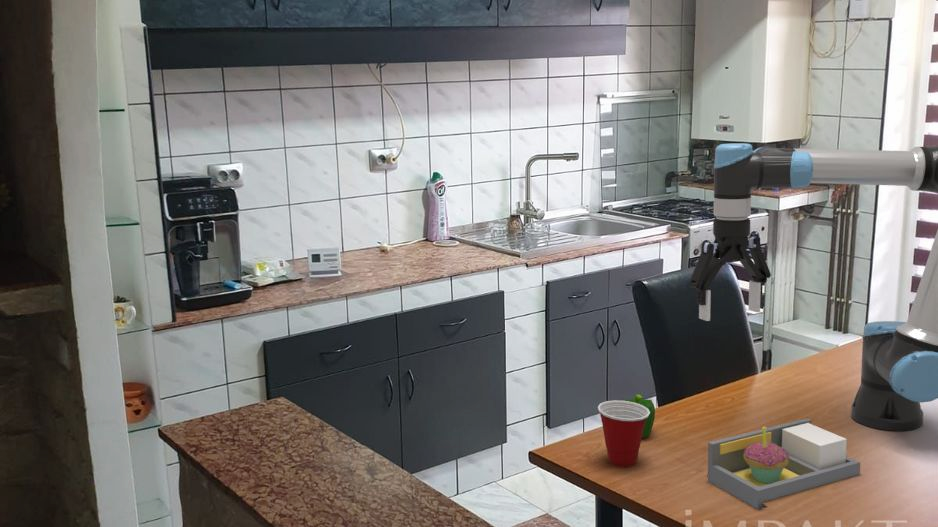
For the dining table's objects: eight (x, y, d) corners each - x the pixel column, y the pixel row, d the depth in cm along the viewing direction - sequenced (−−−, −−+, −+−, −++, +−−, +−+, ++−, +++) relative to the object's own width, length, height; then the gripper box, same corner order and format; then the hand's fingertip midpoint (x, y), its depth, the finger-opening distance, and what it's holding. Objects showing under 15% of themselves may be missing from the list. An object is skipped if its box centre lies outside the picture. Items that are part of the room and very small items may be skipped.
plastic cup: (649, 473, 181) (650, 418, 179) (596, 470, 184) (596, 416, 181) (650, 452, 192) (650, 399, 190) (599, 450, 194) (599, 397, 192)
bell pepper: (618, 427, 207) (618, 386, 205) (654, 428, 205) (655, 387, 203) (617, 440, 199) (617, 398, 197) (654, 442, 197) (654, 399, 195)
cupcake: (782, 491, 168) (784, 431, 166) (737, 482, 173) (738, 424, 171) (792, 474, 176) (794, 416, 173) (749, 466, 180) (750, 409, 178)
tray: (805, 454, 188) (807, 418, 186) (859, 479, 175) (861, 440, 174) (707, 481, 177) (708, 442, 176) (757, 509, 165) (758, 468, 163)
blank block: (806, 454, 185) (808, 422, 184) (845, 472, 176) (846, 439, 175) (781, 461, 182) (782, 429, 181) (818, 479, 173) (820, 446, 172)
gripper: (764, 210, 195) (761, 304, 199) (672, 220, 185) (671, 319, 189) (789, 214, 189) (786, 310, 193) (695, 225, 179) (694, 327, 183)
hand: (729, 315), depth 191 cm, fingers open, 13 cm apart
